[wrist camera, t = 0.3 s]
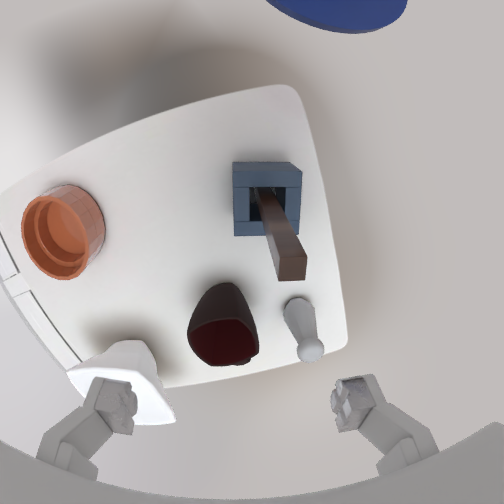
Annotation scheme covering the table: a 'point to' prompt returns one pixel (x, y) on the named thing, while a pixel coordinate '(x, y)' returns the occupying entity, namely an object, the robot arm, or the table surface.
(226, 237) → the table surface
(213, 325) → the mug
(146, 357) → the bowl
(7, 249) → the table surface
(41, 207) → the terracotta round dish
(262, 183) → the box
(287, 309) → the salt shaker
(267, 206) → the stirring stick
